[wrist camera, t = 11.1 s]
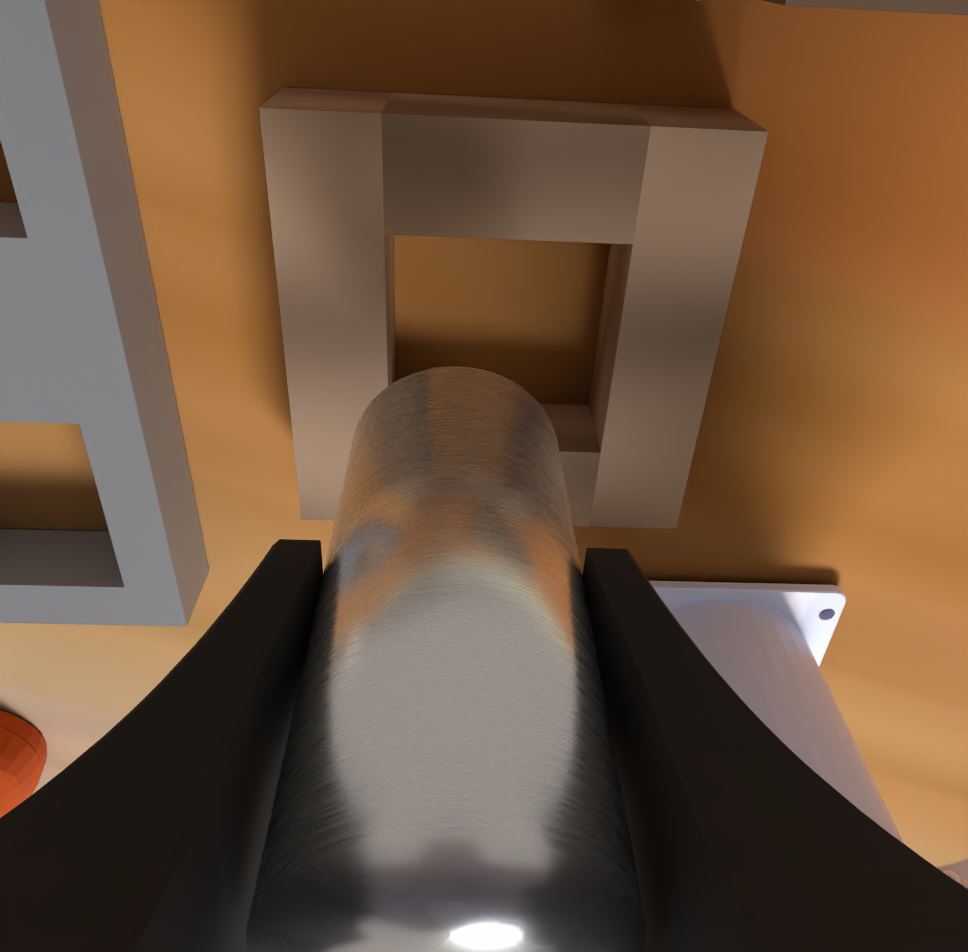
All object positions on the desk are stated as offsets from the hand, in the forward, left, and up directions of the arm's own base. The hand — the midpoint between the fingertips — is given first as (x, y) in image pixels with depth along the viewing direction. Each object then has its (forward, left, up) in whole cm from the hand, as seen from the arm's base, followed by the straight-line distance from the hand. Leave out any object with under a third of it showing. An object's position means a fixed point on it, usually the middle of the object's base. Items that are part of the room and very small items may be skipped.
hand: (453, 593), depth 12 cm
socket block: (0, -1, -10) cm, 10 cm away
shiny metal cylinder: (0, 0, -4) cm, 4 cm away
